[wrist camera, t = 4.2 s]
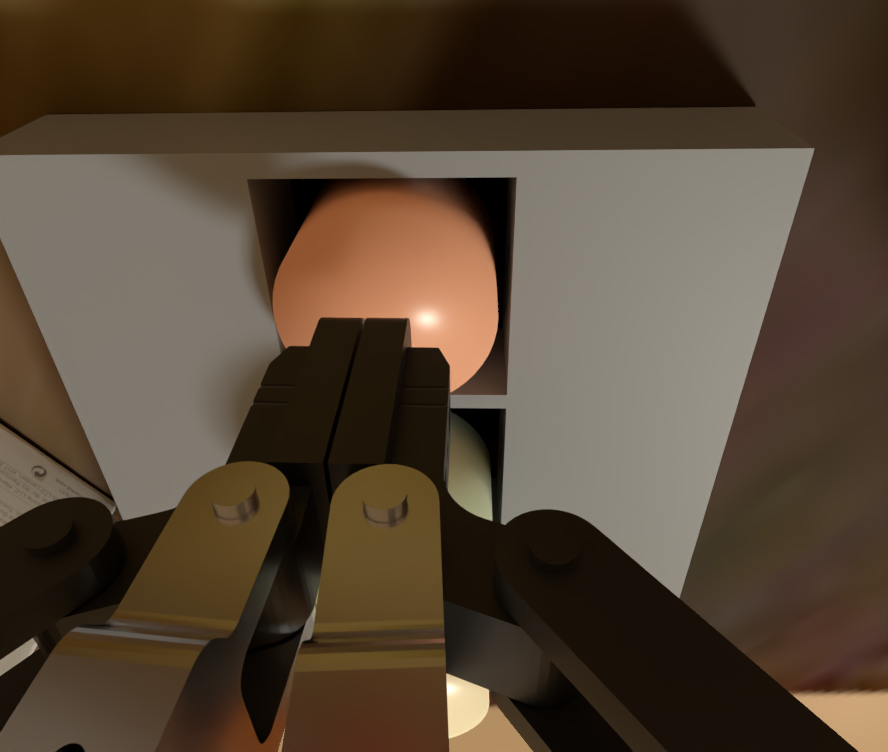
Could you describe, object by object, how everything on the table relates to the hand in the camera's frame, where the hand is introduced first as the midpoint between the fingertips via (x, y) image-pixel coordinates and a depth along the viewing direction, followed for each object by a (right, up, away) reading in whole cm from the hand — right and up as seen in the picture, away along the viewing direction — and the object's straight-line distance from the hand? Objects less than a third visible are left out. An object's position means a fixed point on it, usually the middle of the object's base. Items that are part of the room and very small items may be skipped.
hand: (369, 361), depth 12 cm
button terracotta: (0, +3, +5) cm, 6 cm away
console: (0, -1, +8) cm, 8 cm away
